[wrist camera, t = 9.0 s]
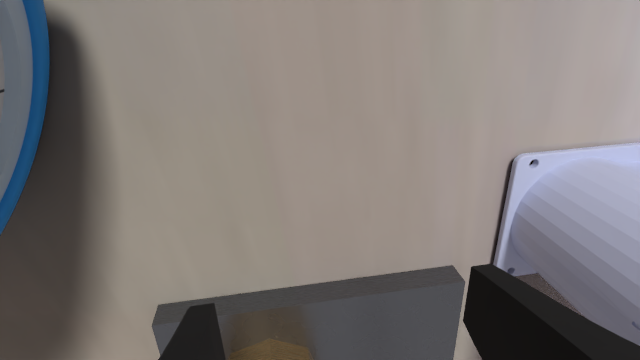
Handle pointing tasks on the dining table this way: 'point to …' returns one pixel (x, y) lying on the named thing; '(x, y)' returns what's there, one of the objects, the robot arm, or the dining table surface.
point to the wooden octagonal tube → (272, 352)
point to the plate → (341, 317)
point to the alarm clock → (21, 94)
